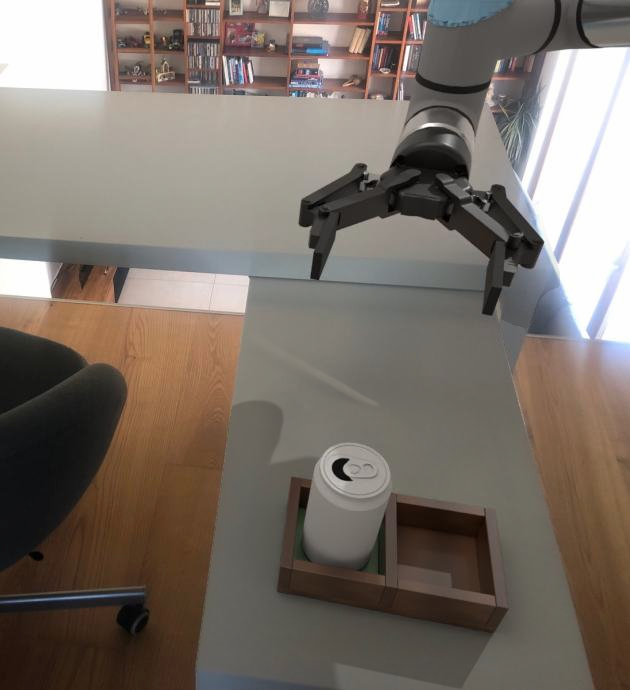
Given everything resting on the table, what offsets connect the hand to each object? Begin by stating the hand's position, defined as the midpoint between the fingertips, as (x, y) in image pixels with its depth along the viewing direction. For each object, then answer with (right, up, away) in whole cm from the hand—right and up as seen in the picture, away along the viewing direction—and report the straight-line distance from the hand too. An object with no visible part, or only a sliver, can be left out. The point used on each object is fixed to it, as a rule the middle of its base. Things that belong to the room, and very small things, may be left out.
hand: (400, 283), depth 55 cm
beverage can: (-3, -24, +10) cm, 26 cm away
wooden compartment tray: (+1, -25, +10) cm, 27 cm away
